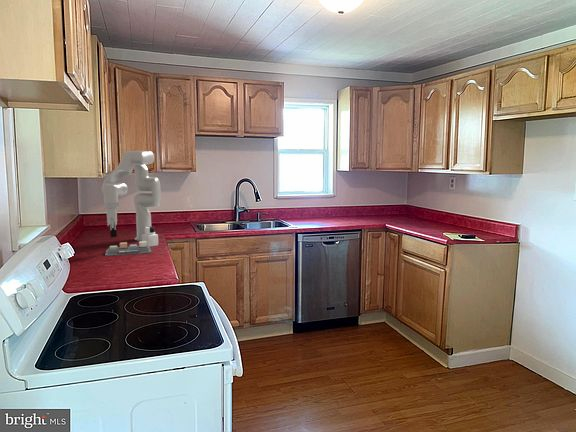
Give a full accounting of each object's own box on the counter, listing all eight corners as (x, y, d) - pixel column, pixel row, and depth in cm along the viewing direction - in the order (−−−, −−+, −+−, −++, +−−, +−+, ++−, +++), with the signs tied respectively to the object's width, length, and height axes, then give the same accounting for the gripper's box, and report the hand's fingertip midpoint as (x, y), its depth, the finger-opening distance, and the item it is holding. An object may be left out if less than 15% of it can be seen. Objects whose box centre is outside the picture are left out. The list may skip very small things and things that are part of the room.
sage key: (110, 250, 244) (109, 246, 244) (117, 249, 246) (117, 245, 246) (109, 251, 241) (109, 247, 240) (117, 251, 242) (117, 246, 242)
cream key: (139, 245, 250) (139, 241, 250) (146, 245, 251) (146, 241, 251) (139, 246, 246) (139, 242, 246) (146, 246, 248) (146, 242, 247)
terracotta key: (119, 246, 246) (119, 242, 246) (127, 246, 248) (127, 242, 247) (119, 248, 242) (119, 243, 242) (127, 247, 244) (127, 243, 244)
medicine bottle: (152, 243, 270) (151, 225, 268) (158, 245, 266) (157, 226, 264) (142, 245, 265) (141, 227, 263) (148, 247, 260) (147, 228, 258)
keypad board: (106, 251, 248) (106, 246, 248) (150, 248, 257) (150, 244, 257) (105, 256, 235) (104, 251, 235) (151, 252, 244) (151, 248, 244)
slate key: (129, 248, 248) (129, 244, 248) (137, 248, 250) (136, 244, 249) (129, 250, 244) (129, 246, 244) (137, 249, 246) (136, 245, 246)
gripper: (105, 204, 246) (107, 234, 249) (103, 207, 232) (106, 240, 235) (118, 203, 248) (120, 233, 251) (118, 207, 234) (120, 239, 237)
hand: (113, 236), depth 243 cm, fingers closed
